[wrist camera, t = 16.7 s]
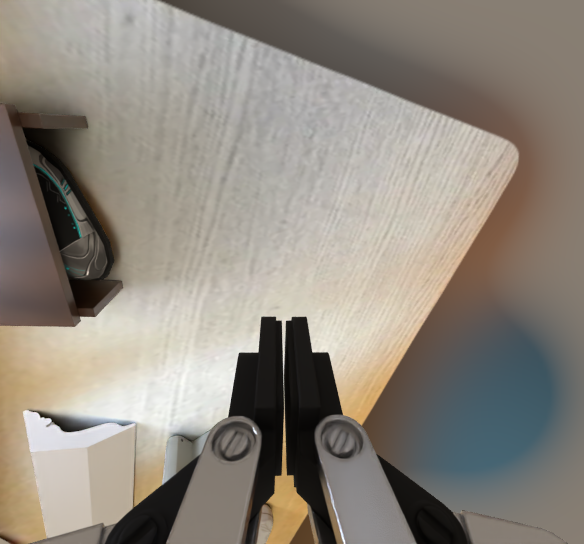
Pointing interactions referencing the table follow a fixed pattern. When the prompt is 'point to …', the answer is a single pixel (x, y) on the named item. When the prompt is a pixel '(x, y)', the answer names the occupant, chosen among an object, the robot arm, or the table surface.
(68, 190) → the computer mouse
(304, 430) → the robot arm
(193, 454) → the digital clock
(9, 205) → the cubby shelf
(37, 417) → the molding piece
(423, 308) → the table surface
